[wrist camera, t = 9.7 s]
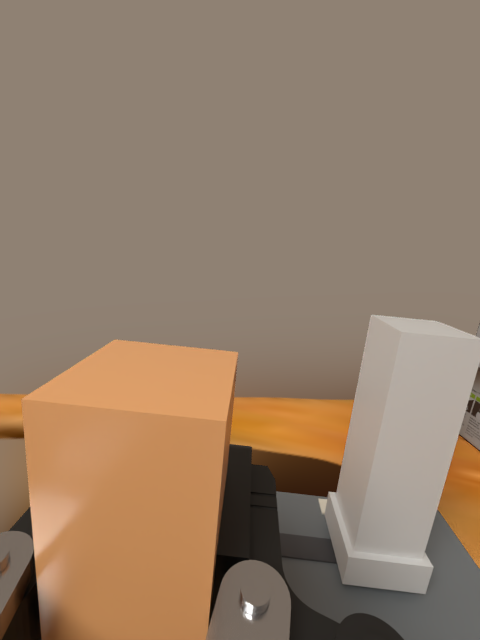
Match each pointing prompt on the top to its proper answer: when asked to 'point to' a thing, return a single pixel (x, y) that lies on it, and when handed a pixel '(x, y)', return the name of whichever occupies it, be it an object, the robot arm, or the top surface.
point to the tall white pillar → (399, 450)
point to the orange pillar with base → (129, 490)
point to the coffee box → (473, 412)
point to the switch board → (388, 605)
